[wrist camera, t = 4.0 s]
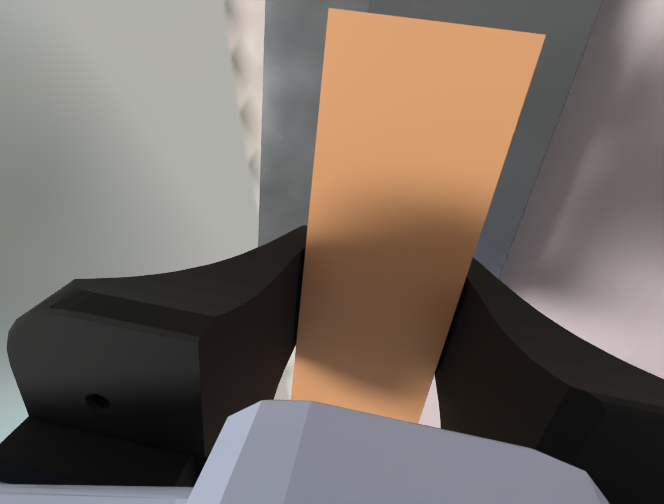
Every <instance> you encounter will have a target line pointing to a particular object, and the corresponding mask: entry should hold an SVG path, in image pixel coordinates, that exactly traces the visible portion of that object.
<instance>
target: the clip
mask: <svg viewBox="0 0 664 504" xmlns="http://www.w3.org/2000/svg"><path fill="white" fill-rule="evenodd" d="M545 36H546V35H544V34H536V33H528V32H520V31H512V30H504V29H496V28H488V27H479V26H471V25H463V24H455V23H447V22H439V21H431V20H423V19H415V18H407V17H399V16H390V15H382V14H374V13H366V12H358V11H350V10H342V9H334V8H329V9H328V20H327V30H326V40H325V51H324V61H323V72H322V82H321V93H320V103H319V113H318V124H317V134H316V145H315V155H314V166H313V176H312V186H311V197H310V207H309V218H308V228H307V239H306V249H305V259H304V270H303V280H302V291H301V301H300V312H299V322H298V332H297V343H296V353H295V364H294V374H293V385H292V395H291V400H303V401H315V402H320V403H325V404H329V405H334V406H338V407H343V408H348V409H352V410H357V411H362V412H366V413H371V414H375V415H380V416H385V417H389V418H394V419H398V420H403V421H408V422H412V423H417V424H418V422H419V419H420V416H421V413H422V410H423V407H424V404H425V401H426V398H427V395H428V392H429V389H430V386H431V383H432V380H433V377H434V374H435V371H436V368H437V365H438V361H439V358H440V355H441V352H442V349H443V346H444V343H445V340H446V337H447V334H448V331H449V328H450V325H451V322H452V319H453V316H454V313H455V310H456V307H457V304H458V301H459V298H460V295H461V292H462V289H463V286H464V282H465V279H466V276H467V273H468V270H469V267H470V264H471V261H472V258H473V255H474V252H475V249H476V246H477V243H478V240H479V237H480V234H481V231H482V228H483V225H484V222H485V219H486V216H487V213H488V210H489V207H490V203H491V200H492V197H493V194H494V191H495V188H496V185H497V182H498V179H499V176H500V173H501V170H502V167H503V164H504V161H505V158H506V155H507V152H508V149H509V146H510V143H511V140H512V137H513V134H514V131H515V128H516V125H517V121H518V118H519V115H520V112H521V109H522V106H523V103H524V100H525V97H526V94H527V91H528V88H529V85H530V82H531V79H532V76H533V73H534V70H535V67H536V64H537V61H538V58H539V55H540V52H541V49H542V46H543V42H544V39H545Z"/></svg>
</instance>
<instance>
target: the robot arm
mask: <svg viewBox="0 0 664 504" xmlns="http://www.w3.org/2000/svg"><path fill="white" fill-rule="evenodd" d="M307 228H308V226H307V225H303V226H300V227H298V228H296V229H294V230H292V231H290V232H288V233H287V234H285V235H283V236H281V237H279V238H277V239H275V240H273V241H271V242H269V243H267V244H264V245H262V246H260V247H258V248H255V249H253V250H251V251H248V252H246V253H244V254H241V255H238V256H235V257H232V258H230V259H226V260H223V261H220V262H216V263H213V264H209V265H205V266H200V267H195V268H190V269H186V270H181V271H176V272H169V273H162V274H155V275H145V276H135V277H121V278H98V279H74V280H73V281H72V282H70V283H69V284H67V285H66V286H64V287H63V288H61V289H60V290H58V291H57V292H55V293H54V294H53V295H51V296H50V297H48V298H47V299H45V300H44V301H42V302H41V303H39V304H38V305H37V306H35V307H34V308H32V309H31V310H29V311H28V312H26V313H25V314H23V315H22V316H21V317H19V318H18V319H16V321H15V322H14V324H13V325H12V327H11V328H10V330H9V333H8V340H7V353H8V357H9V361H10V366H11V369H12V371H13V374H14V377H15V379H16V382H17V385H18V388H19V390H20V393H21V396H22V398H23V401H24V404H25V406H26V409H27V412H28V415H29V417H27V419H25V421H24V422H22V423H21V424H20V425H19V426H18V427H17V428H16V429H15V430H14V431H13V432H12V433H11V434H10V435H9V436H8V437H7V438H6V439H5V440H4V441H3V442H2V443H1V444H0V504H664V379H662V378H660V377H657V376H655V375H653V374H651V373H648V372H646V371H644V370H642V369H639V368H637V367H635V366H633V365H631V364H629V363H627V362H625V361H623V360H621V359H619V358H617V357H615V356H613V355H611V354H609V353H607V352H605V351H603V350H601V349H600V348H598V347H596V346H594V345H592V344H590V343H588V342H587V341H585V340H583V339H581V338H580V337H578V336H576V335H574V334H573V333H571V332H569V331H568V330H566V329H565V328H563V327H562V326H560V325H558V324H557V323H555V322H554V321H552V320H551V319H549V318H548V317H546V316H545V315H543V314H542V313H540V312H539V311H538V310H536V309H535V308H534V307H532V306H531V305H530V304H528V303H527V302H526V301H524V300H523V299H522V298H520V297H519V296H518V295H517V294H515V293H514V292H513V291H512V290H511V289H509V288H508V287H507V286H506V285H505V284H504V283H502V282H501V281H500V280H499V279H498V278H497V277H495V276H494V275H493V274H492V273H491V272H490V271H489V270H488V269H486V268H485V267H484V266H483V265H482V264H481V263H480V262H478V261H477V260H476V259H475V258H474V257H473V258H472V261H471V264H470V267H469V270H468V273H467V276H466V279H465V282H464V286H463V289H462V292H461V295H460V298H459V301H458V304H457V307H456V310H455V313H454V316H453V319H452V322H451V325H450V328H449V331H448V334H447V337H446V340H445V343H444V346H443V349H442V352H441V355H440V358H439V361H438V365H437V368H436V371H435V380H436V387H437V394H438V400H439V409H440V420H441V429H440V428H435V427H431V426H426V425H422V424H417V423H412V422H408V421H403V420H398V419H394V418H389V417H385V416H380V415H375V414H371V413H366V412H362V411H357V410H352V409H348V408H343V407H338V406H334V405H329V404H325V403H320V402H315V401H303V400H274V397H275V393H276V390H277V387H278V384H279V382H280V379H281V377H282V374H283V372H284V369H285V367H286V365H287V363H288V361H289V358H290V356H291V354H292V352H293V350H294V347H295V345H296V343H297V332H298V322H299V312H300V301H301V291H302V280H303V270H304V259H305V249H306V239H307Z"/></svg>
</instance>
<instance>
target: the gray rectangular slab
mask: <svg viewBox="0 0 664 504" xmlns="http://www.w3.org/2000/svg"><path fill="white" fill-rule="evenodd" d="M602 1H603V0H266V2H265V36H264V70H263V104H262V138H261V172H260V206H259V240H258V243H259V244H258V247H260V246H262V245H264V244H267V243H269V242H271V241H273V240H275V239H277V238H279V237H281V236H283V235H285V234H287V233H288V232H290V231H292V230H294V229H296V228H298V227H300V226H303V225H307V226H308V218H309V207H310V197H311V186H312V176H313V166H314V155H315V145H316V134H317V124H318V113H319V103H320V93H321V82H322V72H323V61H324V51H325V40H326V30H327V20H328V9H329V8H334V9H342V10H350V11H358V12H366V13H374V14H382V15H390V16H399V17H407V18H415V19H423V20H431V21H439V22H447V23H455V24H463V25H471V26H479V27H488V28H496V29H504V30H512V31H520V32H528V33H536V34H544V35H546V36H545V39H544V42H543V46H542V49H541V52H540V55H539V58H538V61H537V64H536V67H535V70H534V73H533V76H532V79H531V82H530V85H529V88H528V91H527V94H526V97H525V100H524V103H523V106H522V109H521V112H520V115H519V118H518V121H517V125H516V128H515V131H514V134H513V137H512V140H511V143H510V146H509V149H508V152H507V155H506V158H505V161H504V164H503V167H502V170H501V173H500V176H499V179H498V182H497V185H496V188H495V191H494V194H493V197H492V200H491V203H490V207H489V210H488V213H487V216H486V219H485V222H484V225H483V228H482V231H481V234H480V237H479V240H478V243H477V246H476V249H475V252H474V255H473V257H474V258H475V259H476V260H477V261H478V262H480V263H481V264H482V265H483V266H484V267H485V268H486V269H488V270H489V271H490V272H491V273H492V274H493V275H494V276H495V277H497V278H498V279H499V277H500V274H501V271H502V269H503V266H504V263H505V260H506V258H507V255H508V252H509V250H510V247H511V244H512V242H513V239H514V236H515V234H516V231H517V228H518V226H519V223H520V220H521V218H522V215H523V212H524V210H525V207H526V204H527V202H528V199H529V196H530V194H531V191H532V188H533V186H534V183H535V180H536V178H537V175H538V172H539V170H540V167H541V164H542V162H543V159H544V156H545V154H546V151H547V148H548V146H549V143H550V140H551V138H552V135H553V132H554V129H555V127H556V124H557V121H558V119H559V116H560V113H561V111H562V108H563V105H564V103H565V100H566V97H567V95H568V92H569V89H570V87H571V84H572V81H573V79H574V76H575V73H576V71H577V68H578V65H579V63H580V60H581V57H582V55H583V52H584V49H585V47H586V44H587V41H588V39H589V36H590V33H591V31H592V28H593V25H594V23H595V20H596V17H597V15H598V12H599V9H600V7H601V4H602Z"/></svg>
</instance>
